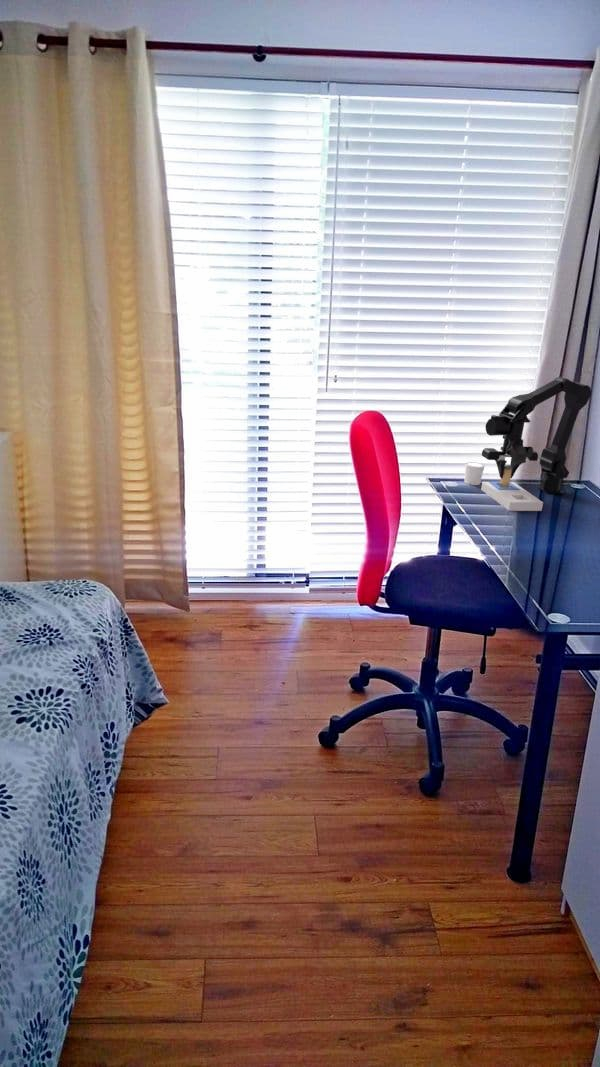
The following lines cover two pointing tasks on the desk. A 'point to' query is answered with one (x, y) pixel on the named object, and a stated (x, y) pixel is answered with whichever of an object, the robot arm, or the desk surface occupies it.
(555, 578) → the desk surface
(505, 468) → the grey-capped tan cylinder
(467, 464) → the white cylinder
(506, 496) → the block
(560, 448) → the robot arm
